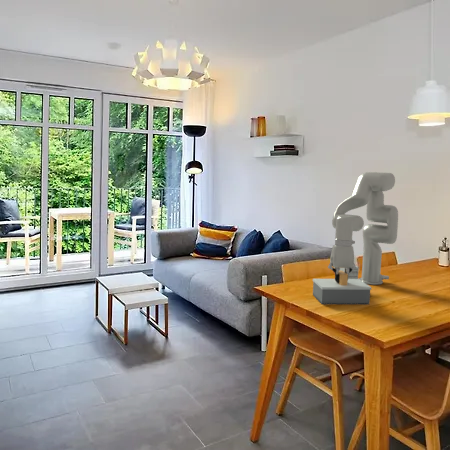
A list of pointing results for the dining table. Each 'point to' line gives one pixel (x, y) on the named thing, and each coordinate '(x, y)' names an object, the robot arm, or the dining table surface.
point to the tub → (341, 296)
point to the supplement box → (352, 273)
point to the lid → (342, 283)
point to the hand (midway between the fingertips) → (341, 281)
